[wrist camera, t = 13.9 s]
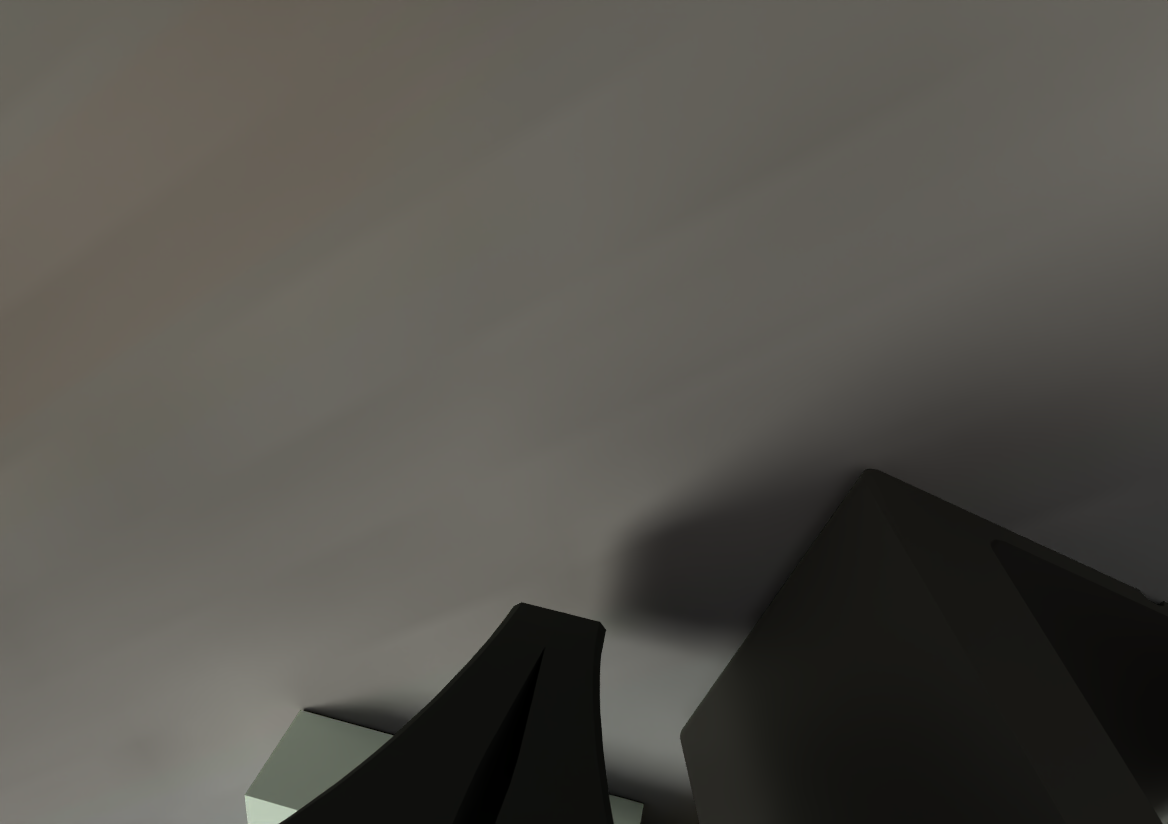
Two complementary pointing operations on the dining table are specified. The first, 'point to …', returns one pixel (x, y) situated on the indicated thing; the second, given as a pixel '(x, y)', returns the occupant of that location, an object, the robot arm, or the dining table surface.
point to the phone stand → (937, 682)
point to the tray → (334, 769)
